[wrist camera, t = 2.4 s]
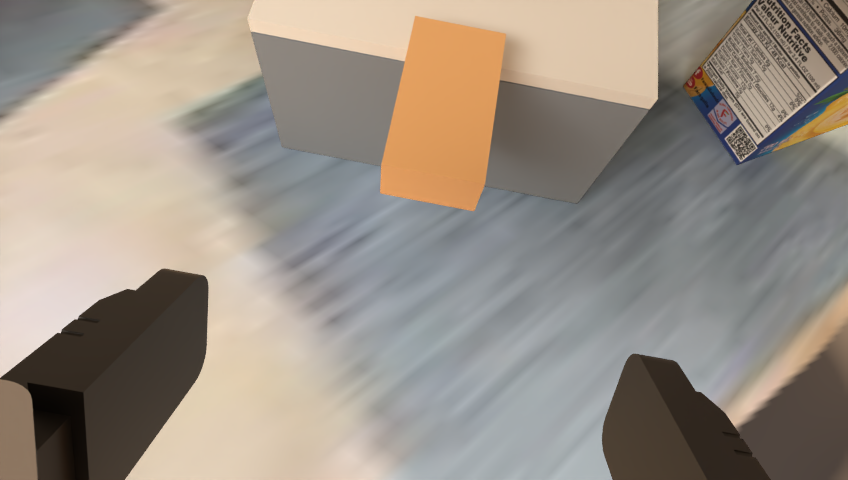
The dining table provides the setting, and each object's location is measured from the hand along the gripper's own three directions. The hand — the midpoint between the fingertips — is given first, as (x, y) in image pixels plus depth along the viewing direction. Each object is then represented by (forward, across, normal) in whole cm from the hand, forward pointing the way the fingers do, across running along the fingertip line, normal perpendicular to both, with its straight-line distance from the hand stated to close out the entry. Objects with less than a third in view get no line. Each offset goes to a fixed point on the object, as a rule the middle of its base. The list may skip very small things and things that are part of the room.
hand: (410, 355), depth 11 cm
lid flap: (+21, 0, -7) cm, 23 cm away
